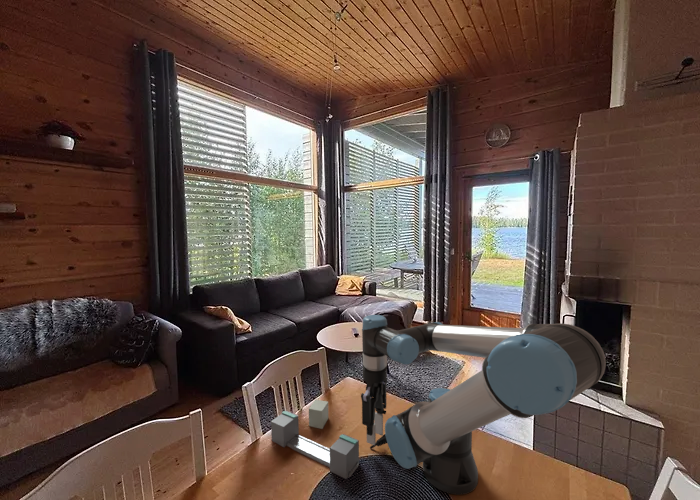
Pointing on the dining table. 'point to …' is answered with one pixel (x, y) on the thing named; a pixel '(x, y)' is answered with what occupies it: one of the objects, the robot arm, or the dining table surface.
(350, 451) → the block
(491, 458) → the dining table surface
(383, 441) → the power plug
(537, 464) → the dining table surface
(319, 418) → the block
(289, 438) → the block
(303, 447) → the rail
